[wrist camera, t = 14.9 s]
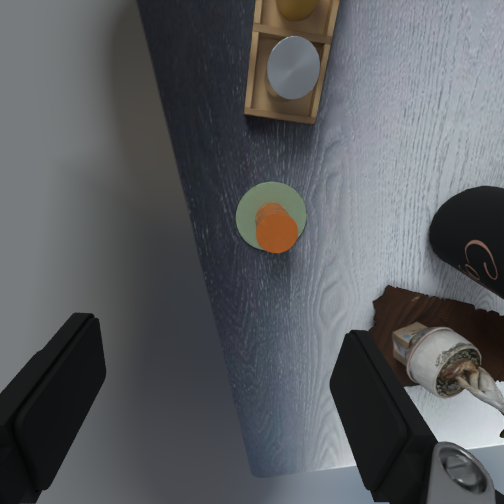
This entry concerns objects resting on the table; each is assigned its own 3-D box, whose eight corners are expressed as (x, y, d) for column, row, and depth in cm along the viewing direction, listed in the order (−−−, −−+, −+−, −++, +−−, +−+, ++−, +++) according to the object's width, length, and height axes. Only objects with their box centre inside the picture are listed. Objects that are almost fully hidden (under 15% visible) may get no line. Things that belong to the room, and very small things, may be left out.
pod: (251, 233, 35) (253, 251, 30) (256, 198, 33) (259, 211, 28) (286, 237, 36) (293, 255, 31) (292, 203, 34) (302, 215, 29)
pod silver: (259, 101, 29) (263, 95, 24) (265, 49, 27) (271, 31, 22) (301, 107, 30) (313, 102, 25) (310, 56, 28) (325, 41, 23)
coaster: (232, 245, 36) (232, 247, 36) (239, 176, 33) (239, 177, 32) (298, 252, 37) (299, 254, 37) (312, 185, 34) (313, 186, 33)
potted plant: (367, 275, 42) (616, 400, 19) (449, 281, 49) (705, 379, 26) (335, 384, 46) (506, 590, 24) (414, 376, 53) (606, 530, 31)
